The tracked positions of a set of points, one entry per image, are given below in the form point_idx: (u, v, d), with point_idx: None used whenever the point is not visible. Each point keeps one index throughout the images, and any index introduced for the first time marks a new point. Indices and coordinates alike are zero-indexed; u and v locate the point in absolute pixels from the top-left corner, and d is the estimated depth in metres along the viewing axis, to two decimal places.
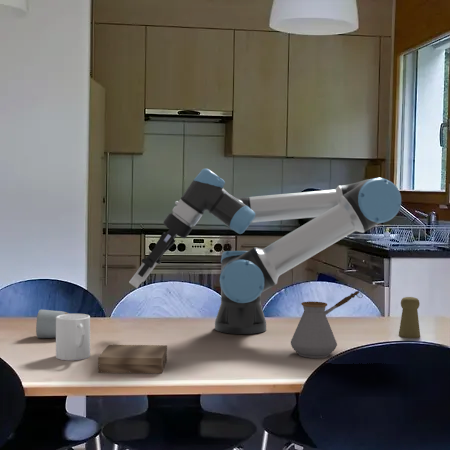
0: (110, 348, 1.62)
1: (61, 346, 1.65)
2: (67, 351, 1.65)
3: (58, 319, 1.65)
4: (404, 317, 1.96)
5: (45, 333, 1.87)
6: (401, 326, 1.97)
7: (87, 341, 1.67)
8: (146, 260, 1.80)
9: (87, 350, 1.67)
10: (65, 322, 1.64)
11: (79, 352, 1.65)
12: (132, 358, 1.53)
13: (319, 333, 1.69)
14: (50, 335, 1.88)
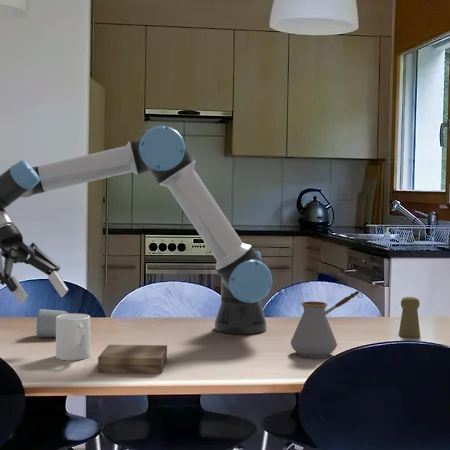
0: (110, 348, 1.62)
1: (61, 346, 1.65)
2: (67, 351, 1.65)
3: (58, 319, 1.65)
4: (404, 317, 1.96)
5: (45, 332, 1.88)
6: (401, 326, 1.97)
7: (87, 341, 1.67)
8: None
9: (87, 350, 1.67)
10: (65, 322, 1.64)
11: (79, 352, 1.65)
12: (132, 358, 1.53)
13: (319, 333, 1.69)
14: (50, 334, 1.89)
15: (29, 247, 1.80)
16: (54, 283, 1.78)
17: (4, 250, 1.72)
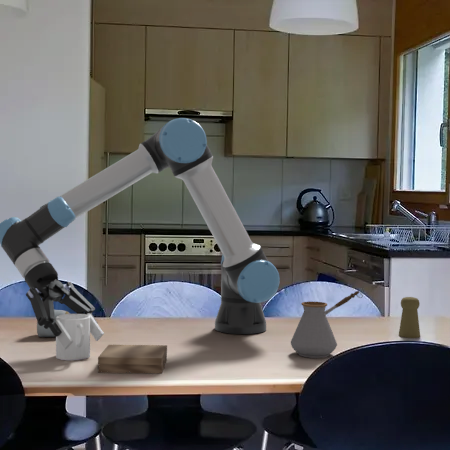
0: (110, 348, 1.62)
1: (61, 346, 1.65)
2: (67, 351, 1.65)
3: (58, 319, 1.65)
4: (404, 317, 1.96)
5: (46, 332, 1.89)
6: (401, 326, 1.97)
7: (87, 341, 1.67)
8: (39, 323, 1.61)
9: (87, 350, 1.67)
10: (65, 322, 1.64)
11: (79, 352, 1.65)
12: (132, 358, 1.53)
13: (319, 333, 1.69)
14: (51, 334, 1.90)
15: (65, 286, 1.75)
16: None
17: (41, 290, 1.67)
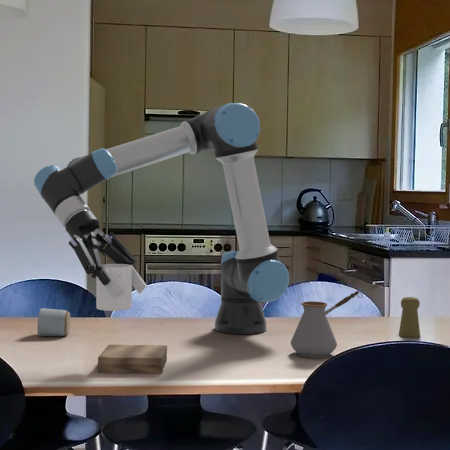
0: (110, 348, 1.62)
1: (102, 296, 1.58)
2: (108, 301, 1.57)
3: None
4: (404, 317, 1.96)
5: (46, 331, 1.90)
6: (401, 326, 1.97)
7: (129, 291, 1.59)
8: (87, 271, 1.55)
9: (129, 301, 1.60)
10: None
11: (121, 302, 1.58)
12: (132, 358, 1.53)
13: (319, 333, 1.69)
14: (51, 333, 1.90)
15: (107, 236, 1.68)
16: None
17: (83, 238, 1.60)
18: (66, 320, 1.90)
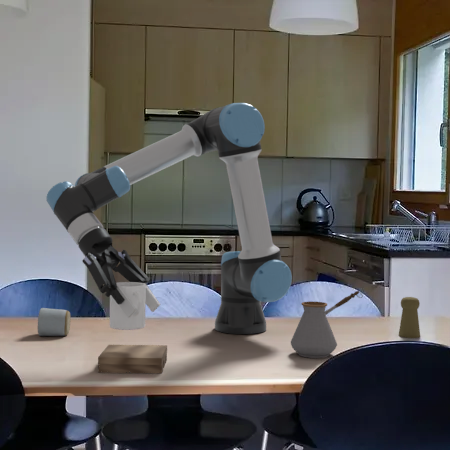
0: (110, 348, 1.62)
1: (116, 315, 1.56)
2: (122, 320, 1.56)
3: None
4: (404, 317, 1.96)
5: (46, 331, 1.90)
6: (401, 326, 1.97)
7: (143, 310, 1.58)
8: (101, 290, 1.54)
9: (143, 320, 1.59)
10: None
11: (135, 321, 1.57)
12: (132, 358, 1.53)
13: (319, 333, 1.69)
14: (51, 333, 1.91)
15: (119, 253, 1.67)
16: None
17: (97, 256, 1.59)
18: (66, 320, 1.91)
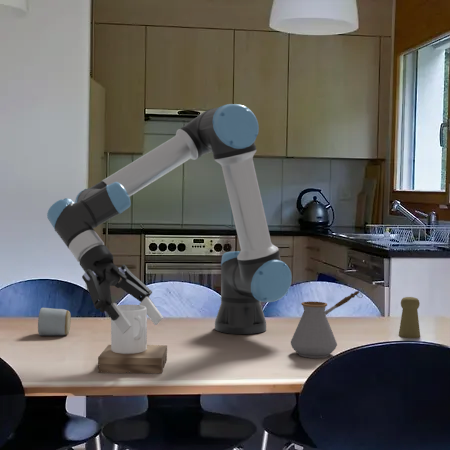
0: (110, 348, 1.62)
1: (118, 339, 1.57)
2: (124, 344, 1.56)
3: None
4: (404, 317, 1.96)
5: (47, 331, 1.91)
6: (401, 326, 1.97)
7: (144, 333, 1.59)
8: (96, 306, 1.53)
9: (144, 343, 1.59)
10: None
11: (137, 345, 1.57)
12: (132, 358, 1.53)
13: (319, 333, 1.69)
14: (52, 333, 1.91)
15: (120, 269, 1.67)
16: (147, 310, 1.64)
17: (97, 273, 1.59)
18: (66, 319, 1.91)
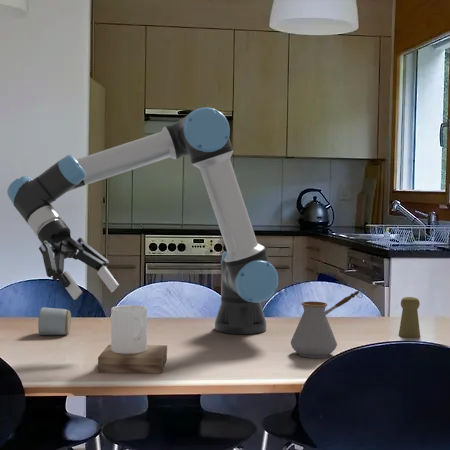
0: (110, 348, 1.62)
1: (118, 339, 1.57)
2: (124, 344, 1.56)
3: (114, 311, 1.57)
4: (404, 317, 1.96)
5: (47, 330, 1.91)
6: (401, 326, 1.97)
7: (144, 334, 1.59)
8: (48, 274, 1.62)
9: (144, 343, 1.59)
10: (123, 314, 1.56)
11: (137, 345, 1.57)
12: (132, 358, 1.53)
13: (319, 333, 1.69)
14: (52, 332, 1.92)
15: (77, 242, 1.77)
16: (104, 278, 1.75)
17: (54, 245, 1.68)
18: (67, 319, 1.92)
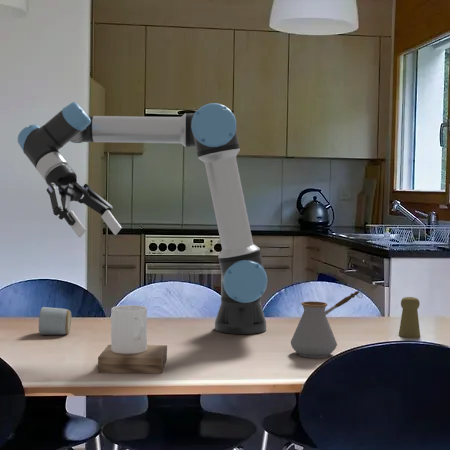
0: (110, 348, 1.62)
1: (118, 339, 1.57)
2: (124, 344, 1.56)
3: (114, 311, 1.57)
4: (404, 317, 1.96)
5: (47, 330, 1.92)
6: (401, 326, 1.97)
7: (144, 334, 1.59)
8: (54, 212, 1.71)
9: (144, 343, 1.59)
10: (123, 314, 1.56)
11: (137, 345, 1.57)
12: (132, 358, 1.53)
13: (319, 333, 1.69)
14: (52, 332, 1.92)
15: (82, 187, 1.86)
16: (107, 222, 1.83)
17: (61, 188, 1.78)
18: (67, 319, 1.92)
